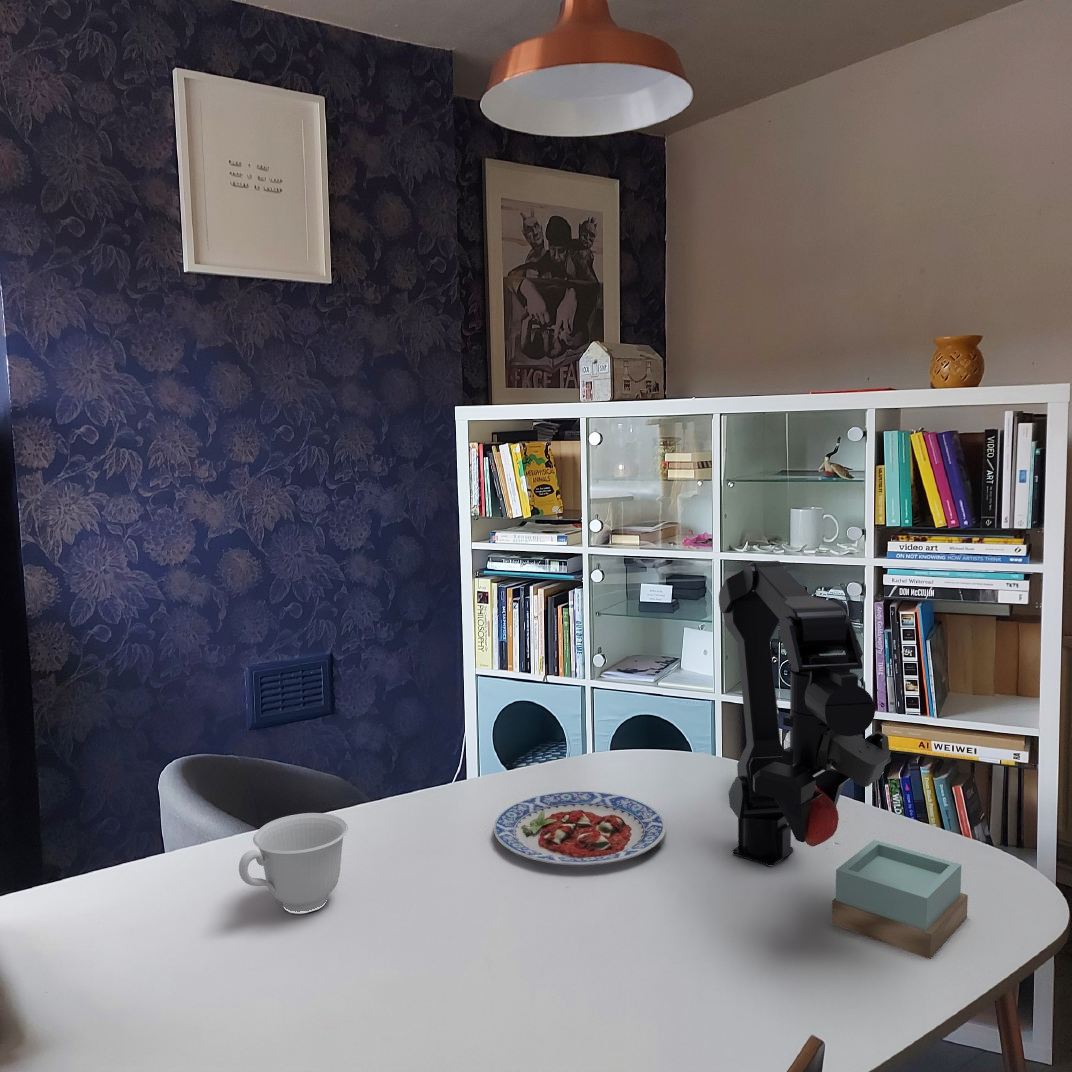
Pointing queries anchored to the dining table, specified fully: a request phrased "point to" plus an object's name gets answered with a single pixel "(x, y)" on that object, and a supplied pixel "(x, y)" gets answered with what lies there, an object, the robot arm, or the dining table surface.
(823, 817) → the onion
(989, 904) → the dining table surface
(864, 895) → the top block
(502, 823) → the ceramic plate
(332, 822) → the teacup
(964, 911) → the bottom block
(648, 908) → the dining table surface
